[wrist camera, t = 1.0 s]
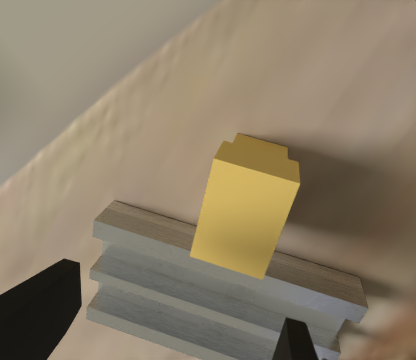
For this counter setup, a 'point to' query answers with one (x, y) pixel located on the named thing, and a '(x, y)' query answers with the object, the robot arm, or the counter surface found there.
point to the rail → (210, 292)
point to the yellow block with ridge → (245, 205)
